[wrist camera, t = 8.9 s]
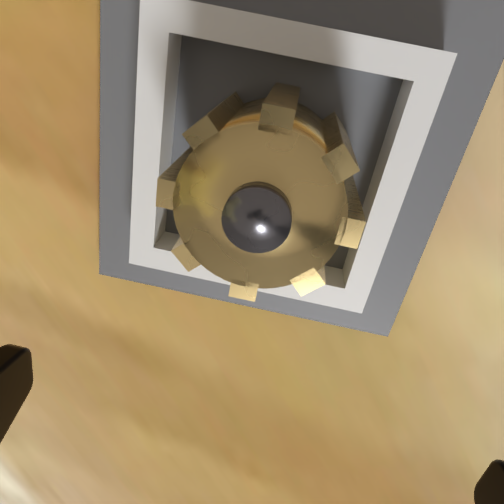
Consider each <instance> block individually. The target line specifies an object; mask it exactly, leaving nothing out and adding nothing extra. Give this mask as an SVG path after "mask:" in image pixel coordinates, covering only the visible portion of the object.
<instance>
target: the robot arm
mask: <svg viewBox="0 0 504 504" xmlns="http://www.w3.org/2000/svg"><path fill="white" fill-rule="evenodd" d="M32 384H33V370H32V358H31V352H30V350H29V349H27V348H25V347H21V346H16V345H12V344H8V345H4V346H2V347H0V443H1V441H2V440H3V438H4V436H5V434H6V432H7V431H8V429H9V427H10V425H11V424H12V422H13V420H14V418H15V417H16V415H17V413H18V411H19V409H20V408H21V406H22V404H23V402H24V401H25V399H26V397H27V395H28V394H29V392H30V390H31V387H32ZM474 501H475V504H504V461H503V460H494V461H492V463H491V464H490V465H489V467H488V468H487V470H486V471H485V472H484V474H483V475H482V477H481V478H480V480H479V481H478V482H477V484H476V487H475V490H474Z"/></svg>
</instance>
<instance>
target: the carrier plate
mask: <svg viewBox="0 0 504 504" xmlns="http://www.w3.org/2000/svg"><path fill="white" fill-rule="evenodd" d="M503 59H504V0H100V259H99V274H102V275H106V276H111V277H116V278H120V279H125V280H129V281H134V282H139V283H143V284H148V285H152V286H157V287H162V288H166V289H171V290H175V291H180V292H185V293H189V294H194V295H199V296H203V297H208V298H212V299H217V300H222V301H226V302H231V303H235V304H240V305H245V306H249V307H254V308H258V309H263V310H268V311H272V312H277V313H281V314H286V315H291V316H295V317H300V318H304V319H309V320H314V321H318V322H323V323H327V324H332V325H337V326H341V327H346V328H350V329H355V330H360V331H364V332H369V333H374V334H378V335H383V336H387V337H388V335H389V333H390V330H391V328H392V325H393V323H394V321H395V318H396V316H397V313H398V311H399V309H400V306H401V304H402V301H403V299H404V297H405V294H406V292H407V289H408V287H409V285H410V282H411V280H412V277H413V275H414V273H415V270H416V268H417V265H418V263H419V261H420V258H421V256H422V253H423V251H424V249H425V246H426V244H427V241H428V239H429V237H430V234H431V232H432V229H433V227H434V225H435V222H436V220H437V217H438V215H439V213H440V210H441V208H442V205H443V203H444V201H445V198H446V196H447V193H448V191H449V189H450V186H451V184H452V181H453V179H454V177H455V174H456V172H457V170H458V167H459V165H460V162H461V160H462V158H463V155H464V153H465V150H466V148H467V146H468V143H469V141H470V138H471V136H472V134H473V131H474V129H475V126H476V124H477V122H478V119H479V117H480V114H481V112H482V110H483V107H484V105H485V102H486V100H487V98H488V95H489V93H490V90H491V88H492V86H493V83H494V81H495V78H496V76H497V74H498V71H499V69H500V66H501V64H502V62H503ZM276 82H278V83H283V84H288V85H293V86H298V87H300V93H299V98H298V103H300V104H302V105H304V106H306V107H307V108H309V109H311V110H312V111H313V112H314V113H316V114H317V115H318V116H319V117H320V118H321V119H324V118H325V117H327V116H328V115H330V114H331V113H333V112H335V113H336V115H337V116H338V118H339V120H340V121H341V123H342V125H343V126H344V128H345V130H346V131H347V134H348V137H349V140H350V143H351V146H352V149H353V152H354V155H355V157H356V160H357V163H358V166H359V169H360V171H359V172H357V173H356V174H354V175H353V177H354V181H355V184H356V188H357V191H358V195H359V198H360V202H361V206H362V209H363V213H364V216H365V220H366V224H365V227H364V230H363V233H362V236H361V239H360V242H359V245H358V248H357V249H355V248H350V247H346V246H341V245H339V247H338V248H337V250H336V252H335V253H334V254H333V256H332V257H331V258H330V260H329V261H328V262H327V263H326V264H325V281H326V284H325V285H323V286H321V287H319V288H317V289H315V290H313V291H311V292H309V293H307V294H305V295H303V296H301V295H300V294H299V293H298V291H297V290H296V288H295V287H294V286H293V284H291V285H288V286H284V287H278V288H268V289H261V288H258V290H257V295H256V300H255V302H253V301H248V300H244V299H239V298H234V297H230V296H228V295H229V290H230V284H231V282H228V281H226V280H223V279H222V278H220V277H218V276H216V275H214V274H213V273H211V272H210V271H208V270H207V269H206V268H204V267H203V266H202V265H199V266H198V267H196V268H194V269H193V270H191V271H189V272H188V271H187V270H186V269H185V267H184V266H183V265H182V264H181V263H180V261H179V260H178V259H177V258H176V257H175V255H174V254H173V253H172V252H171V250H172V248H173V247H174V245H175V244H176V242H177V241H178V239H179V237H180V235H179V233H178V230H177V227H176V224H175V220H174V214H173V210H170V209H165V208H161V207H156V192H157V178H158V177H159V176H160V175H161V174H162V173H163V172H164V171H165V170H167V169H168V168H169V167H170V166H171V165H172V164H173V163H174V162H175V161H176V160H177V159H178V158H179V157H180V156H181V155H182V154H183V153H184V152H185V151H186V150H187V149H188V148H189V147H190V145H189V143H188V142H187V141H186V139H185V138H184V137H183V135H182V134H183V133H184V132H185V131H186V130H187V129H189V128H190V127H191V126H192V125H194V124H195V123H196V122H197V121H199V120H200V119H201V118H202V117H203V116H205V115H206V114H207V113H208V112H210V111H211V110H212V109H213V108H215V107H216V106H217V105H218V104H220V103H221V102H222V101H224V100H225V99H226V98H228V97H229V96H230V95H232V94H233V93H234V92H236V93H237V94H238V96H239V97H240V99H241V100H242V102H243V103H244V104H245V103H247V102H250V101H253V100H257V99H262V98H266V97H267V96H268V94H269V93H270V91H271V89H272V88H273V86H274V85H275V83H276Z"/></svg>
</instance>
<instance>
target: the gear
mask: <svg viewBox="0 0 504 504" xmlns="http://www.w3.org/2000/svg"><path fill="white" fill-rule="evenodd" d="M299 93H300V87H298V86H293V85H288V84H283V83H278V82H276V83H275V85H274V86H273V88H272V89H271V91H270V93H269V94H268V96H267V97H266V98H262V99H257V100H253V101H250V102H247V103H245V104H244V103H243V102H242V100H241V99H240V97H239V96H238V94H237V93H236V92H234V93H233V94H232V95H230V96H229V97H228V98H226V99H225V100H224V101H222V102H221V103H220V104H218V105H217V106H216V107H215V108H213V109H212V110H211V111H210V112H208V113H207V114H206V115H205V116H203V117H202V118H201V119H200V120H199V121H197V122H196V123H195V124H194V125H192V126H191V127H190V128H189V129H187V130H186V131H185V132H184V133H183V134H182V135H183V137H184V138H185V139H186V141H187V142H188V143H189V145H190V147H189V148H188V149H187V150H186V151H185V152H184V153H183V154H182V155H181V156H180V157H179V158H178V159H177V160H176V161H175V162H174V163H173V164H172V165H171V166H170V167H169V168H168V169H167V170H165V171H164V172H163V173H162V174H161V175H160V176H159V177H158V178H157V192H156V207H161V208H165V209H170V210H173V214H174V220H175V224H176V227H177V230H178V233H179V235H180V237H179V239H178V241H177V242H176V244H175V245H174V247H173V248H172V250H171V252H172V253H173V254H174V255H175V257H176V258H177V259H178V260H179V261H180V263H181V264H182V265H183V266H184V267H185V269H186V270H187V271H188V272H189V271H191V270H193V269H194V268H196V267H198V266H199V265H202V266H203V267H204V268H206V269H207V270H208V271H210V272H211V273H213V274H214V275H216V276H218V277H220V278H222V279H223V280H226V281H228V282H231V284H230V290H229V295H228V296H230V297H234V298H239V299H244V300H248V301H253V302H255V300H256V295H257V290H258V288H261V289H268V288H278V287H284V286H288V285H291V284H293V286H294V287H295V288H296V290H297V291H298V293H299V294H300V295H301V296H303V295H305V294H307V293H309V292H311V291H313V290H315V289H317V288H319V287H321V286H323V285H325V284H326V281H325V264H326V263H327V262H328V261H329V260H330V258H331V257H332V256H333V254H334V253H335V252H336V250H337V248H338V247H339V245H341V246H346V247H350V248H355V249H357V248H358V245H359V242H360V239H361V236H362V233H363V230H364V227H365V224H366V220H365V216H364V213H363V209H362V206H361V202H360V198H359V195H358V191H357V188H356V184H355V181H354V177H353V175H354V174H356V173H357V172H359V171H360V169H359V166H358V163H357V160H356V157H355V155H354V152H353V149H352V146H351V143H350V140H349V137H348V134H347V131H346V130H345V128H344V126H343V125H342V123H341V121H340V120H339V118H338V116H337V115H336V113H335V112H333V113H331V114H330V115H328V116H327V117H325V118H324V119H321V118H320V117H319V116H318V115H317V114H316V113H314V112H313V111H312V110H311V109H309V108H307V107H306V106H304V105H302V104H300V103H298V98H299Z"/></svg>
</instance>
